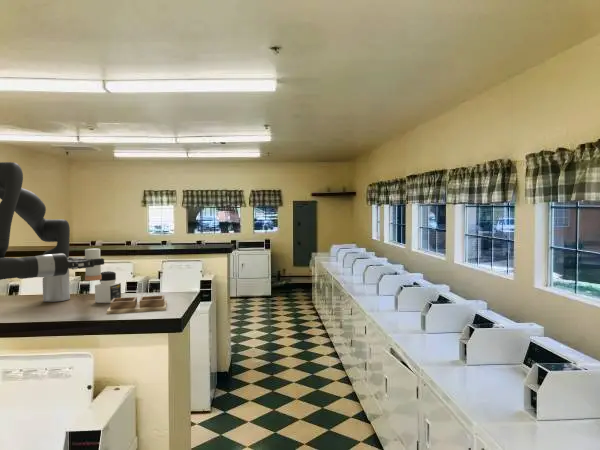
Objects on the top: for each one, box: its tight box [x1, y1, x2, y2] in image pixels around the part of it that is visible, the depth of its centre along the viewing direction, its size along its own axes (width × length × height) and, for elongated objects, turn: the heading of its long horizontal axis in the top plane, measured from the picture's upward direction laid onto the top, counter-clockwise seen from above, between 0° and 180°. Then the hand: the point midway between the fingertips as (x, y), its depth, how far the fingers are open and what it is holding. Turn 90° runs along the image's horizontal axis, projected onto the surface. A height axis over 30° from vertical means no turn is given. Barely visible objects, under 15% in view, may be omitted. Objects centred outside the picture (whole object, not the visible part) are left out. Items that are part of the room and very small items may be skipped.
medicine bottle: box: [94, 270, 122, 304], centre depth 185 cm, size 7×7×12 cm
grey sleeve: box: [84, 247, 102, 282], centre depth 165 cm, size 5×5×11 cm
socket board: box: [106, 294, 168, 315], centre depth 171 cm, size 20×14×4 cm
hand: (100, 260), depth 167 cm, fingers closed on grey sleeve, 5 cm apart
